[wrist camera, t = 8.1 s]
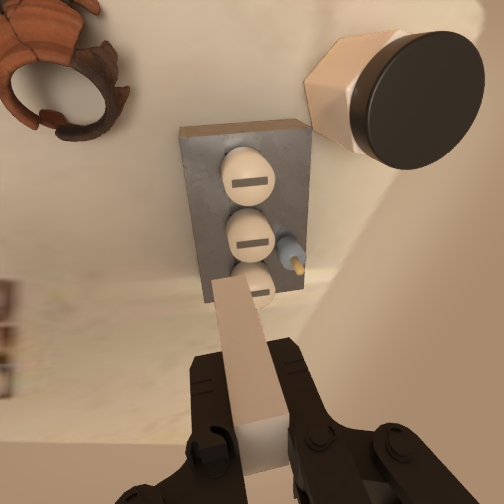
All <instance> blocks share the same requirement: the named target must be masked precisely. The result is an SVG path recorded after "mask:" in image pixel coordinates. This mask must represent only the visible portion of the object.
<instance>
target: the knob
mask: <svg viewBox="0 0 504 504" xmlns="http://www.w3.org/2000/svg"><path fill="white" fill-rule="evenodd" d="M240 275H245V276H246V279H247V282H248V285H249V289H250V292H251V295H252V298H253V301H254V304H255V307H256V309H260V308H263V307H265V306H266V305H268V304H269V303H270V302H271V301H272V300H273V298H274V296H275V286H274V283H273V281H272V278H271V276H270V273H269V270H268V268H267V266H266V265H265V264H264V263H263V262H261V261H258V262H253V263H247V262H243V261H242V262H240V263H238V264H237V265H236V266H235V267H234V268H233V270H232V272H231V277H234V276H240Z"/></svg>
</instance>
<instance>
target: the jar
mask: <svg viewBox="0 0 504 504" xmlns="http://www.w3.org/2000/svg"><path fill="white" fill-rule="evenodd" d="M484 73H485V72H484V66H483V63H482V59H481V57H480V54H479V52H478V50H477V49H476V47H475V46H474V45H473V43H472V42H471V41H469V40H468V39H467V38H466V37H464V36H462V35H460V34H457V33H454V32H450V31H435V32H427V33H419V34H412V33H409V32H406V31H403V30H400V29H398V30H391V31H385V32H378V33H372V34H365V35H359V36H352V37H346V38H340V39H339V40H338V41H337V42H336V43H335V45H334V46H333V47H332V48H331V49H330V51H329V52H328V53H327V54H326V55H325V57H324V58H323V59H322V60H321V61H320V63H319V64H318V65H317V66H316V67H315V69H314V70H313V71H312V72H311V73H310V75H309V76H308V77H307V78H306V79H305V81H304V87H305V92H306V97H307V102H308V107H309V112H310V117H311V122H312V127H313V130H314V131H315V132H317V133H319V134H321V135H322V136H324V137H326V138H328V139H330V140H332V141H334V142H335V143H337V144H339V145H341V146H343V147H345V148H346V149H348V150H350V151H352V152H354V153H357V154H362V155H367V156H370V157H372V158H374V159H376V160H377V161H379V162H381V163H383V164H385V165H387V166H389V167H392V168H395V169H401V170H411V169H417V168H421V167H424V166H427V165H429V164H431V163H433V162H435V161H437V160H439V159H440V158H442V157H443V156H445V155H446V154H447V153H449V152H450V151H451V150H452V149H453V148H454V147H455V146H456V145H457V144H458V143H459V142H460V141H461V140H462V138H463V137H464V136H465V134H466V133H467V132H468V130H469V129H470V127H471V125H472V123H473V122H474V120H475V118H476V116H477V113H478V111H479V108H480V105H481V102H482V98H483V93H484V86H485V74H484Z"/></svg>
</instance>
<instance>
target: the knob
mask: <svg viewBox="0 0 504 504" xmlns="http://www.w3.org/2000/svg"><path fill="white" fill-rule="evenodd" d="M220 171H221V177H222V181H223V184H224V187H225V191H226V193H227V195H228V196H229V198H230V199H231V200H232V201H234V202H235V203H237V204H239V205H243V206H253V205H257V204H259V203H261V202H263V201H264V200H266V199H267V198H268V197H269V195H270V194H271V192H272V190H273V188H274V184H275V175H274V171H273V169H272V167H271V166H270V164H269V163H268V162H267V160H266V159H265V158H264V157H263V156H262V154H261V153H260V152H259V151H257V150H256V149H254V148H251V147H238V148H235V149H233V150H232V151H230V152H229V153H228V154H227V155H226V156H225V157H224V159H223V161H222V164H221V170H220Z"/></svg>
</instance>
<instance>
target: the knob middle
mask: <svg viewBox="0 0 504 504" xmlns="http://www.w3.org/2000/svg"><path fill="white" fill-rule="evenodd" d="M226 233H227V238H228V242H229V246H230V250H231V252H232V254H233V255H234V257H235V258H237V259H238V260H240V261H243V262H247V263H253V262H258V261H261V260H263V259H264V258H266V257H267V256H268V255H269V254H270V253H271V252H272V250H273V248H274V245H275V236H274V233H273V231H272V229H271V227H270V225H269V223H268V221H267V219H266V218H265V216H264V215H263V214H262V213H261V212H260V211H258V210H256V209H252V208H245V209H241V210H238V211H236V212H235V213H234V214H232V215H231V217H230V218H229V219H228V221H227V224H226Z"/></svg>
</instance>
